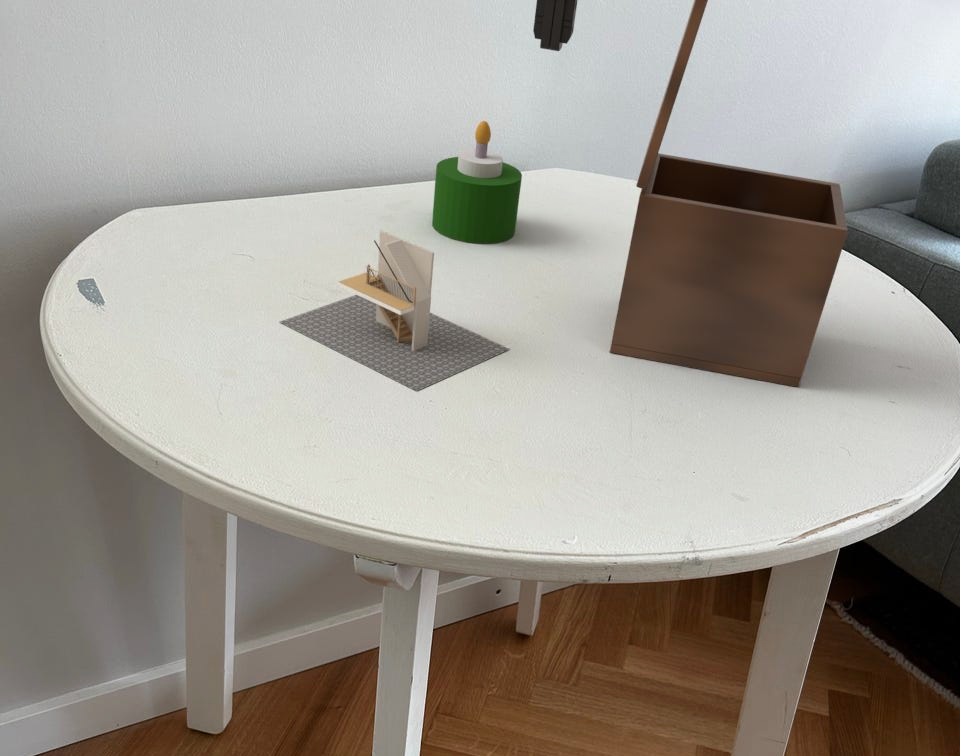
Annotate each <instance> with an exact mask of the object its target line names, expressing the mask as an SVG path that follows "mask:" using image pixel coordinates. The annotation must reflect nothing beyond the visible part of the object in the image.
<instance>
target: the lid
mask: <svg viewBox="0 0 960 756" xmlns="http://www.w3.org/2000/svg"><path fill="white" fill-rule="evenodd" d="M708 1H709V0H694V1H693V3H692V7H691V10H690V12H689V15H688V19H687V22H686V25H685V29H684V32H683V34H682V38H681V41H680V43H679V47H678V50H677V53H676V56H675V60H674V63H673V66H672V69H671V72H670V75H669V79H668V81H667V84H666V88H665V91H664V94H663V97H662V100H661V104H660V106H659V110H658V113H657V115H656V116H657V117H656V119H655V123H654V126H653V129H652V132H651V134H650V138H649V142H648V145H647V147H646V151H645V155H644V157H643V162H642V165H641V168H640V172H639V174H638V178H637V181H636V186H635V187H636V188H639V189H645V190H646V189H647V186H648V183H649V180H650V177H651V174H652V170H653V167H654V164H655V161H656V158H657V155H658V153H659V152H660V149H661V146H662V143H663V141H664V136H665V133H666V132H667V131H666V130H667V128H668V124H669V121H670V118H671V115H672V112H673V109H674V105H675V103H676V100H677V97H678V95H679V91H680V88H681V84H682V81H683V78H684V76H685V72H686V69H687V67H688V64H689V63H688V62H689V60H690V57H691V53H692V51H693V48H694V44H695V42H696V38H697V35H698V33H699V30H700V26H701V23H702V20H703V17H704V13H705V10H706V8H707V5H708Z"/></svg>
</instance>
